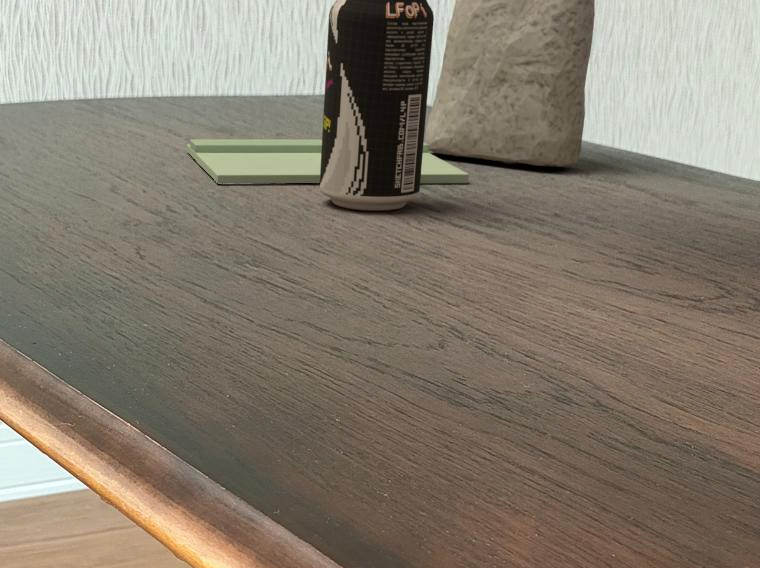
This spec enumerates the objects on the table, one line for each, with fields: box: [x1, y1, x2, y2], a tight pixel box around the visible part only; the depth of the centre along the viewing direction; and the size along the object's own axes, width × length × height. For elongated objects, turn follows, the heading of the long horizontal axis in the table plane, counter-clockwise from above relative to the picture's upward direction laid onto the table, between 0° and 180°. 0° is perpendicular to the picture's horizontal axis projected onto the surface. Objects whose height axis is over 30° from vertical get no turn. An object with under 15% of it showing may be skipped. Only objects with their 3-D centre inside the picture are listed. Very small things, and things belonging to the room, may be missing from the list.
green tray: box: [186, 138, 470, 185], centre depth 94 cm, size 16×12×1 cm
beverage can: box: [319, 0, 435, 212], centre depth 81 cm, size 6×6×12 cm
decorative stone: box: [424, 0, 596, 168], centre depth 96 cm, size 11×6×15 cm, turn 46°
